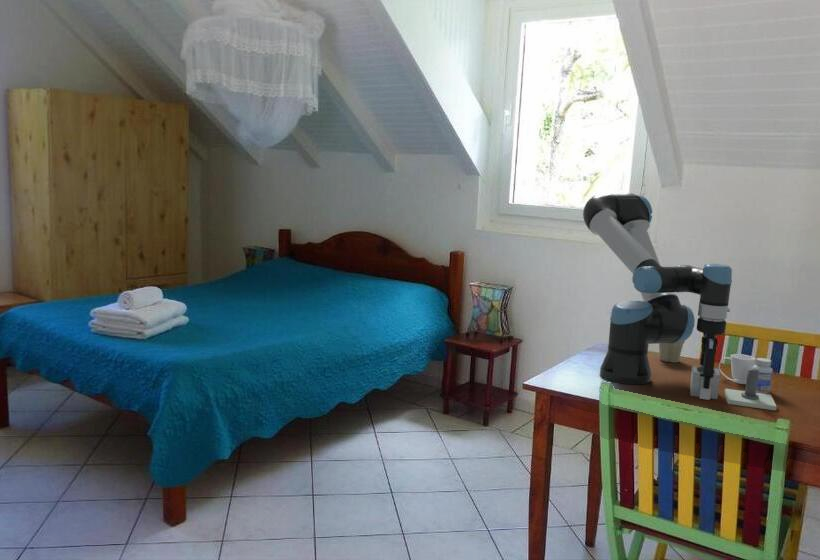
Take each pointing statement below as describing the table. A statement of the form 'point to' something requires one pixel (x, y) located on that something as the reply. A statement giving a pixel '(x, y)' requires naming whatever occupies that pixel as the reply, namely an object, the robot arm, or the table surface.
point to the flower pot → (670, 351)
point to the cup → (739, 367)
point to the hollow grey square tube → (696, 382)
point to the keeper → (750, 394)
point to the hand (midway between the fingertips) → (703, 393)
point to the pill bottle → (763, 375)
